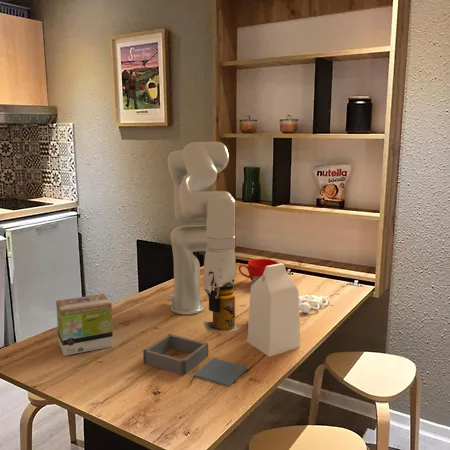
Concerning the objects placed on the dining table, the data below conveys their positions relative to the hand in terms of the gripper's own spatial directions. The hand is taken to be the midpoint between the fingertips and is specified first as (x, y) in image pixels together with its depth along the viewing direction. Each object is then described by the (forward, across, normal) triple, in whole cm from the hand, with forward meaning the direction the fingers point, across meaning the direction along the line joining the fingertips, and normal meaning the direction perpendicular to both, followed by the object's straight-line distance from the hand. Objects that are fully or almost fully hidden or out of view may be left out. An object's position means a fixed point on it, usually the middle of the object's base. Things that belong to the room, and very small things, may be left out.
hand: (220, 306), depth 131 cm
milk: (+20, -23, +6) cm, 31 cm away
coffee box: (+20, -35, -4) cm, 40 cm away
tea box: (+20, +6, -45) cm, 50 cm away
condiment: (+6, +1, 0) cm, 6 cm away
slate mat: (+19, 0, 0) cm, 19 cm away
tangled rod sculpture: (+20, -60, +4) cm, 64 cm away
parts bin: (+19, 0, -15) cm, 25 cm away
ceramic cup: (+20, -72, -22) cm, 78 cm away
